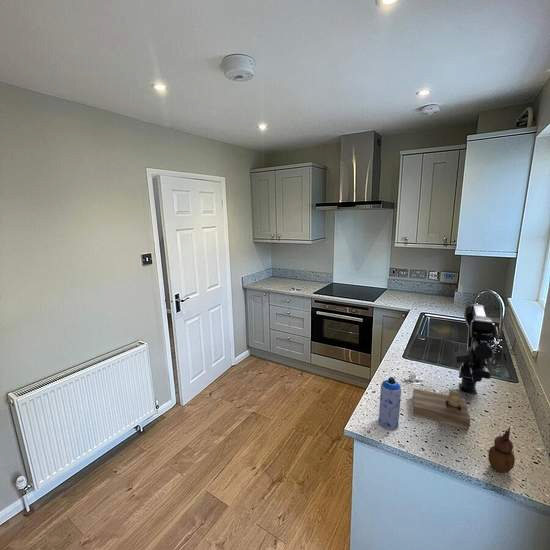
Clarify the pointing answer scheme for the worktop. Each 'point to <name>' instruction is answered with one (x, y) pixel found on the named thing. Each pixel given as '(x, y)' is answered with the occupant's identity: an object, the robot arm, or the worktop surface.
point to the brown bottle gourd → (502, 453)
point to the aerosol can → (389, 404)
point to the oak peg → (454, 400)
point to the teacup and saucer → (415, 378)
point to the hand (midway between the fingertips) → (474, 382)
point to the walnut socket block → (439, 409)
